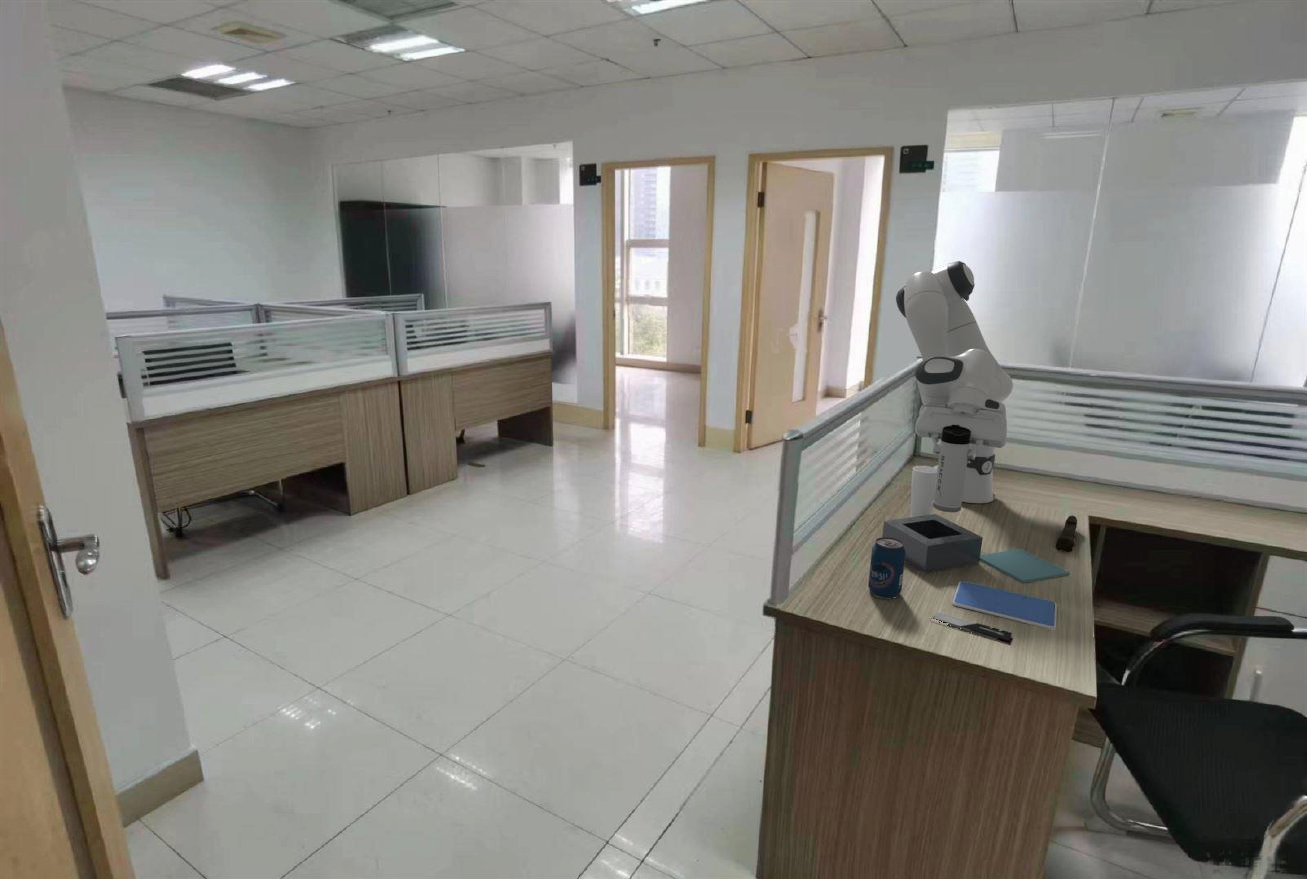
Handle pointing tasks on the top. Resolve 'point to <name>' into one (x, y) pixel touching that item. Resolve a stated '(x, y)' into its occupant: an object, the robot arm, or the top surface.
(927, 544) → the square collar
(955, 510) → the travel mug
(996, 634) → the knife
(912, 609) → the top surface
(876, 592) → the soda can
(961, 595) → the tablet computer
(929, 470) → the white tall cylinder
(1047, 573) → the rubber mat
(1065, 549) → the hand tool
